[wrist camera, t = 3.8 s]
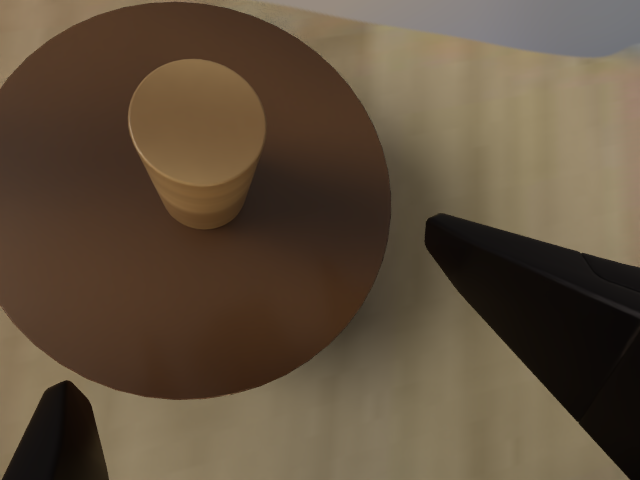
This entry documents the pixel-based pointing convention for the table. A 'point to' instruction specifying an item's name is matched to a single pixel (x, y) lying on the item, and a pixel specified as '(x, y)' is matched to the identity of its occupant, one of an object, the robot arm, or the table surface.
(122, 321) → the lid
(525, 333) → the robot arm
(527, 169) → the table surface
